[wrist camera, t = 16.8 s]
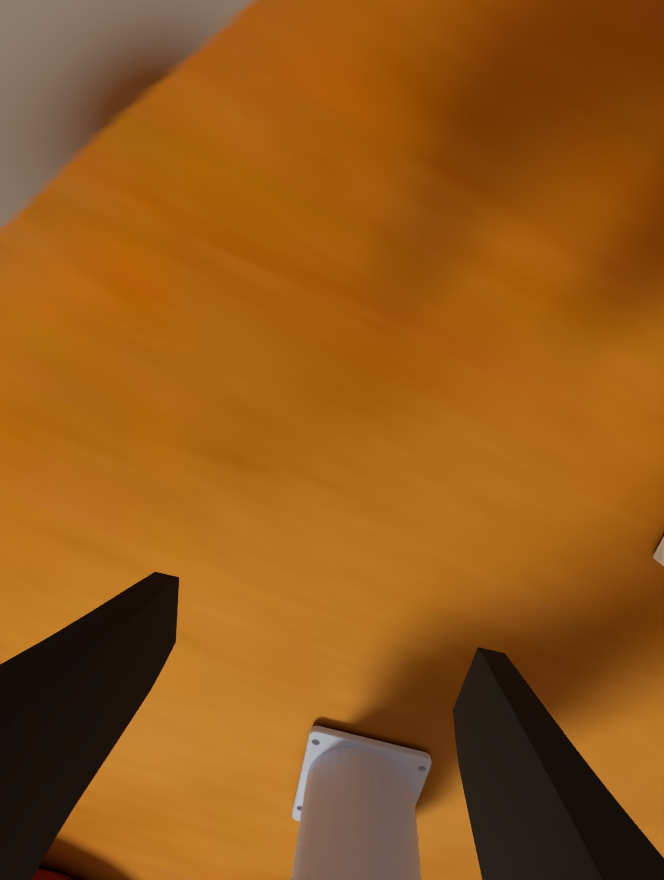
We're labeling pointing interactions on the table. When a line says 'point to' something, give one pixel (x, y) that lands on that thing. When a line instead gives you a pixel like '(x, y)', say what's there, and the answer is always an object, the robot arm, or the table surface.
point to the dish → (49, 875)
